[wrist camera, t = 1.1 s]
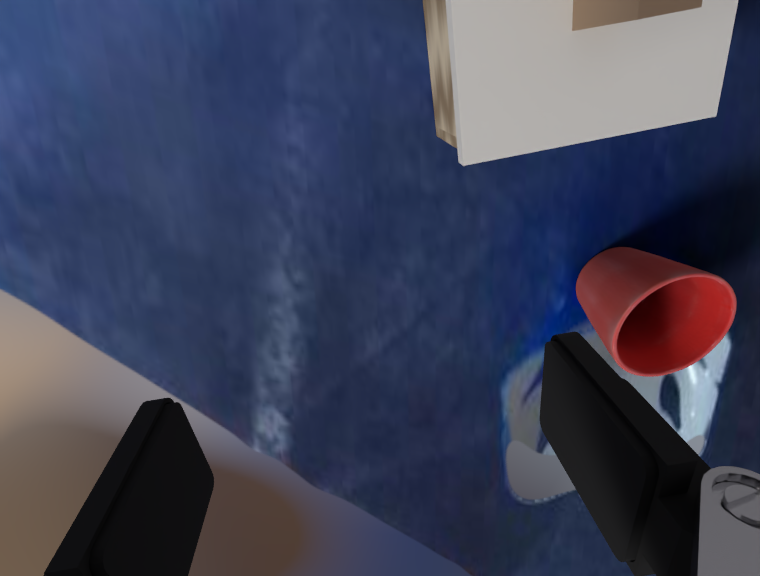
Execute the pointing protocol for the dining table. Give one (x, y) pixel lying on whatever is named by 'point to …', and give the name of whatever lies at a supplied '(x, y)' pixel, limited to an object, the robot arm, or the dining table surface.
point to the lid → (581, 69)
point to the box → (440, 69)
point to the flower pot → (654, 309)
